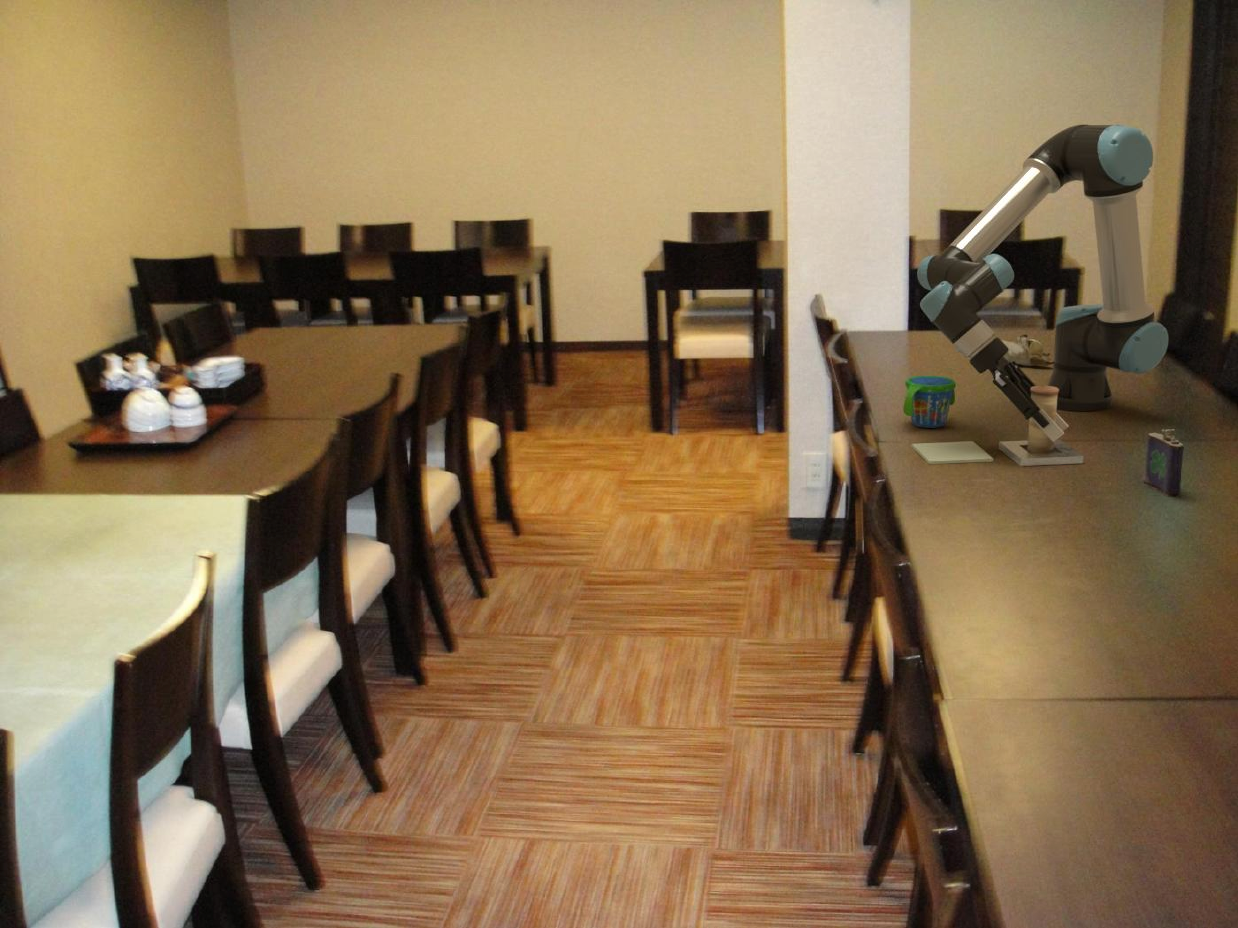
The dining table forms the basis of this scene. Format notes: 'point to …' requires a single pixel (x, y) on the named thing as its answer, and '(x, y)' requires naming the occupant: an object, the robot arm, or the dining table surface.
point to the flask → (1164, 463)
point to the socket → (1024, 458)
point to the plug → (1048, 402)
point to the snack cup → (929, 400)
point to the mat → (951, 452)
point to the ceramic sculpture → (1027, 352)
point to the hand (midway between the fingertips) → (1060, 433)
